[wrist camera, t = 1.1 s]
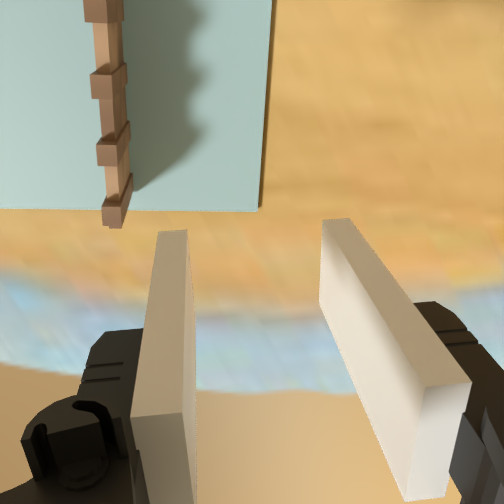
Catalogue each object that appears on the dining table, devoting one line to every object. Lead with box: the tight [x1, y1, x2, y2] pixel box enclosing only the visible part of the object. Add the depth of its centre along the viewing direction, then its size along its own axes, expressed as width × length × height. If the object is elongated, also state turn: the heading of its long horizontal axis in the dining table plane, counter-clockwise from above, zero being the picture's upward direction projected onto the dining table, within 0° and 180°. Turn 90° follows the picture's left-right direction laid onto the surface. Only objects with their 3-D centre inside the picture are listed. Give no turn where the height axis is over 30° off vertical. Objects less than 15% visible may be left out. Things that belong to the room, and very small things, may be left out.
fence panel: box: [83, 0, 134, 229], centre depth 24 cm, size 11×1×5 cm, turn 177°
